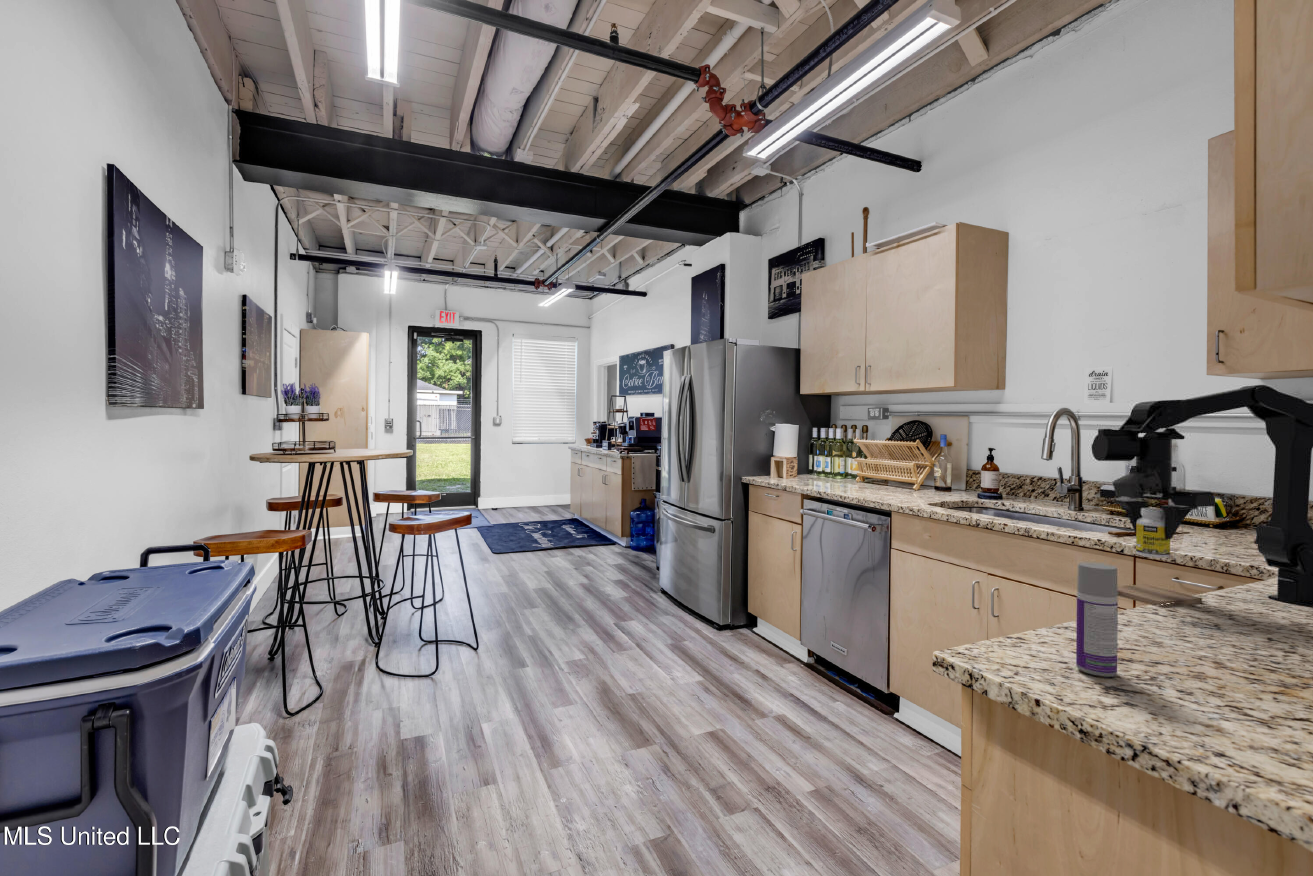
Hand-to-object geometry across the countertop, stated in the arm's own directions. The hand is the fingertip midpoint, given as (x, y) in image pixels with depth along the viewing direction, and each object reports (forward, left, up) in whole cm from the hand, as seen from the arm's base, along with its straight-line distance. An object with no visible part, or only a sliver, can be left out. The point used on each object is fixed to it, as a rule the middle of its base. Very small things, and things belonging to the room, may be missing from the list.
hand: (1153, 536), depth 121 cm
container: (+48, +26, -13) cm, 56 cm away
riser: (0, 0, -13) cm, 13 cm away
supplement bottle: (0, 0, -4) cm, 4 cm away
